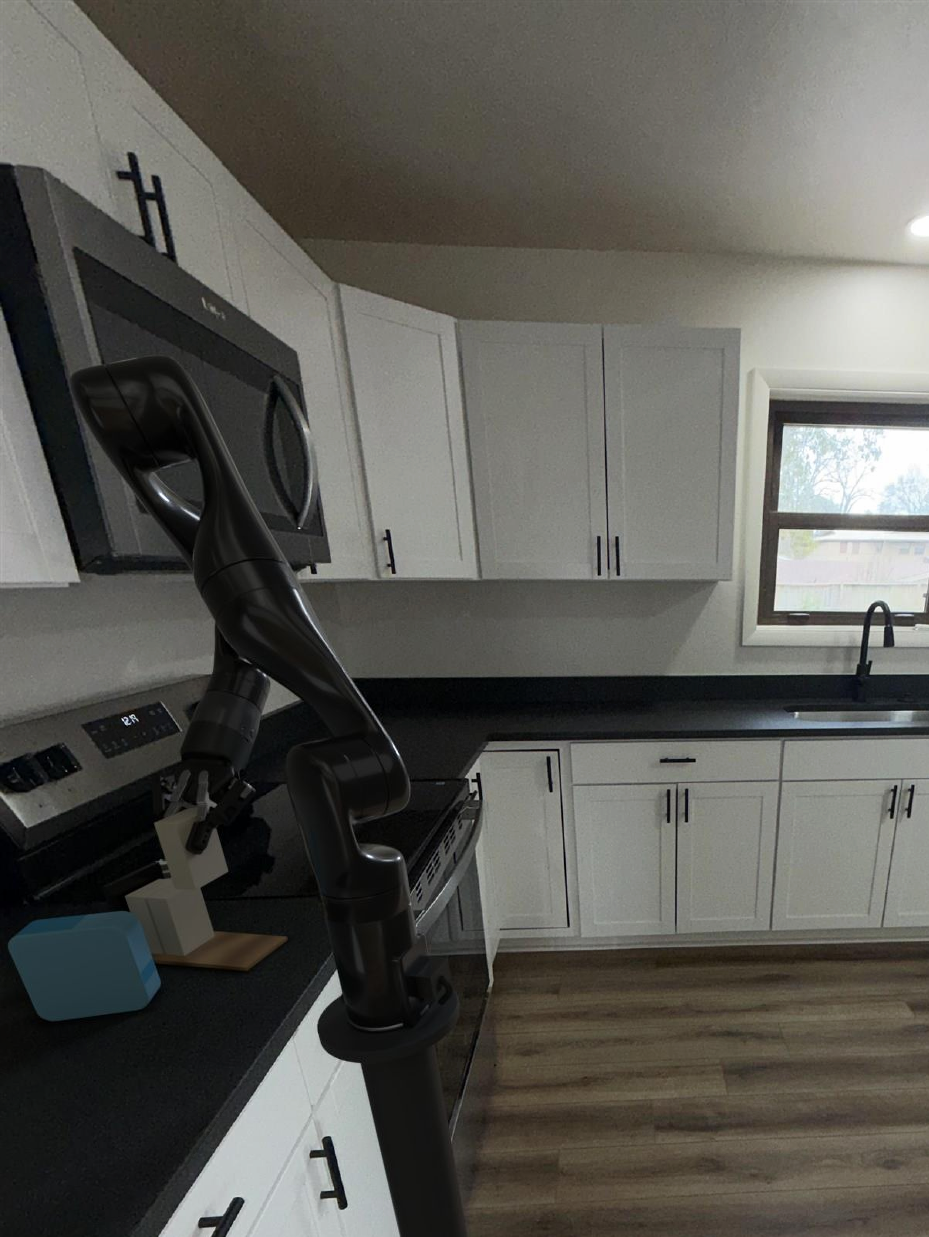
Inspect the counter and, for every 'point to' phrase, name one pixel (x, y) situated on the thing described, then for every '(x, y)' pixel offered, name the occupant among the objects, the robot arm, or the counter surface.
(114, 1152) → the counter surface
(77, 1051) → the counter surface
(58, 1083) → the counter surface
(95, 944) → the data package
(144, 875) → the rack
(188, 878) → the beige block
